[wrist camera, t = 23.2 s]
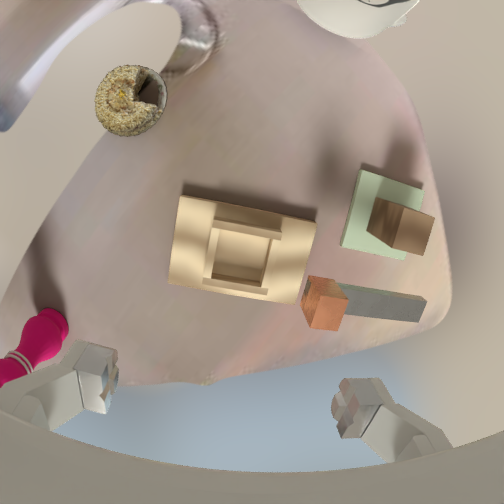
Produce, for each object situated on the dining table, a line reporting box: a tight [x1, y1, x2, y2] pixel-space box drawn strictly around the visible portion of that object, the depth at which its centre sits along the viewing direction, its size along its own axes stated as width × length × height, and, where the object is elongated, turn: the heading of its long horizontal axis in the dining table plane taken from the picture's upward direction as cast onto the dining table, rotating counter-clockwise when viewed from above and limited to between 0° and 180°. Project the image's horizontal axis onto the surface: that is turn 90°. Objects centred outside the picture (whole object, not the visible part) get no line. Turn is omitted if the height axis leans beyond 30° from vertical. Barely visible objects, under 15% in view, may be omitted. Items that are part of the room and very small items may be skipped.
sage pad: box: [340, 170, 425, 260], centre depth 42 cm, size 11×11×1 cm
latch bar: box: [300, 275, 427, 331], centre depth 33 cm, size 4×16×5 cm, turn 78°
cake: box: [94, 65, 167, 137], centre depth 33 cm, size 10×10×5 cm
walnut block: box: [366, 197, 435, 256], centre depth 38 cm, size 5×5×8 cm
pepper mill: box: [0, 308, 68, 389], centre depth 35 cm, size 7×7×20 cm
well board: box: [168, 195, 317, 305], centre depth 41 cm, size 12×18×4 cm, turn 78°
